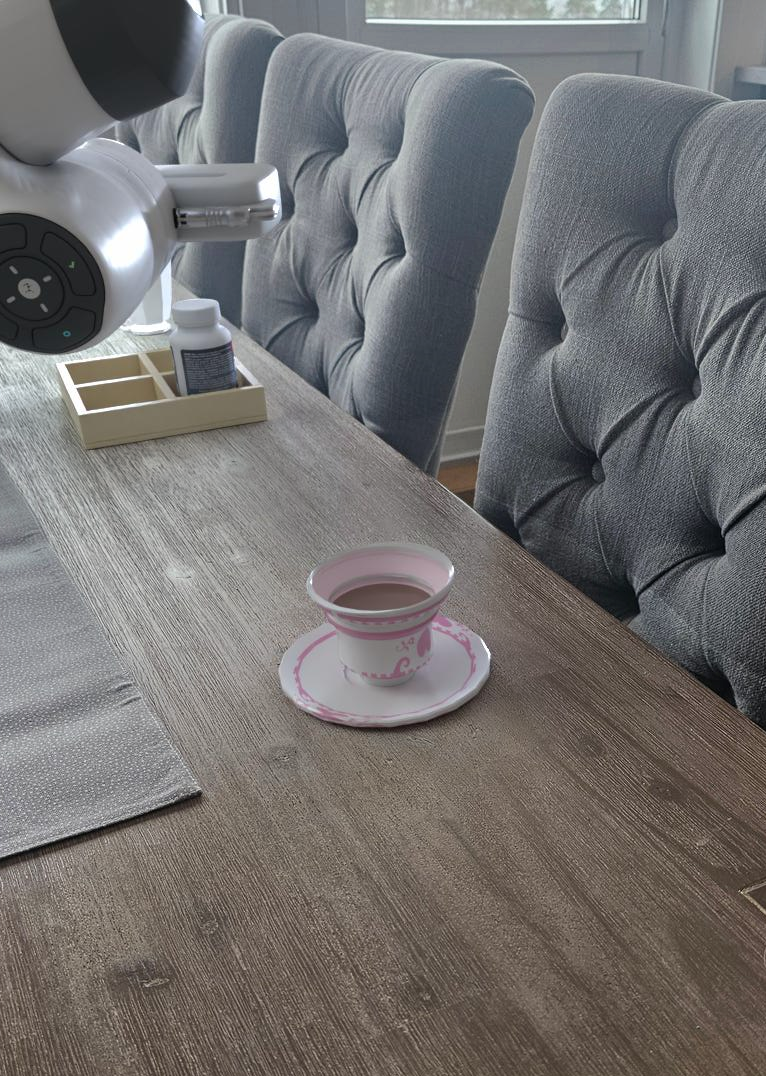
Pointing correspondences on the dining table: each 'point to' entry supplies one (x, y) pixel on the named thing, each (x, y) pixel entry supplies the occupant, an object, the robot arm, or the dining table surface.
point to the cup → (153, 308)
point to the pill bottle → (201, 348)
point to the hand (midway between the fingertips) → (142, 181)
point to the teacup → (383, 641)
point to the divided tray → (149, 399)
